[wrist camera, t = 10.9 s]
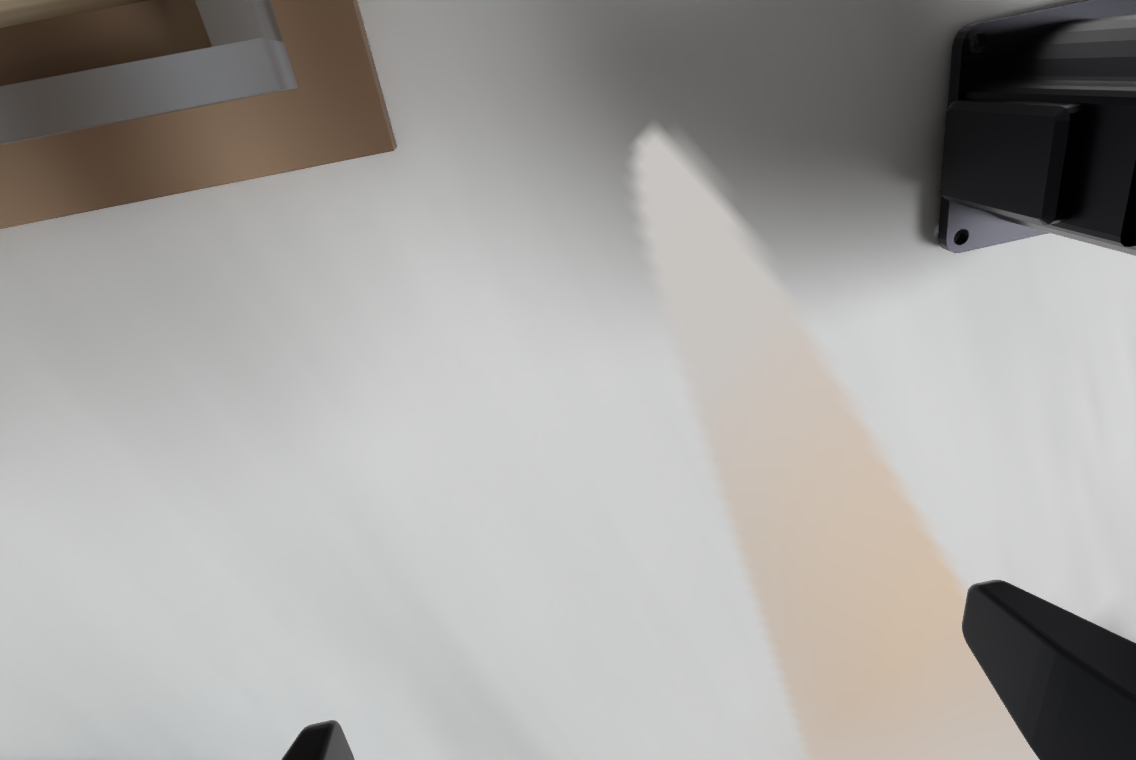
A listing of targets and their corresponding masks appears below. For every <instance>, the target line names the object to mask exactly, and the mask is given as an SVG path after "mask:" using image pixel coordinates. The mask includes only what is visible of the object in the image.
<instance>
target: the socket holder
mask: <svg viewBox="0 0 1136 760" xmlns="http://www.w3.org/2000/svg"><path fill="white" fill-rule="evenodd" d="M396 147H397V145H396V141H395V138H394V134H393V130H392V127H391V123H390V119H389V116H388V112H387V108H386V105H385V101H384V97H383V94H382V90H381V86H380V83H379V79H378V75H377V72H376V68H375V64H374V61H373V57H372V53H371V50H370V46H369V42H368V39H367V35H366V31H365V28H364V24H363V20H362V17H361V13H360V9H359V6H358V2H357V0H148V1H142V2H137V3H132V4H126V5H121V6H116V7H110V8H105V9H99V10H94V11H89V12H83V13H78V14H73V15H67V16H62V17H56V18H51V19H46V20H40V21H35V22H30V23H24V24H19V25H13V26H8V27H3V28H0V229H2V228H7V227H12V226H17V225H22V224H27V223H32V222H37V221H42V220H47V219H53V218H58V217H63V216H68V215H73V214H78V213H83V212H88V211H93V210H98V209H103V208H108V207H113V206H118V205H123V204H128V203H133V202H138V201H143V200H148V199H153V198H158V197H163V196H168V195H173V194H178V193H183V192H188V191H193V190H198V189H203V188H208V187H213V186H218V185H223V184H228V183H234V182H239V181H244V180H249V179H254V178H259V177H264V176H269V175H274V174H279V173H284V172H289V171H294V170H299V169H304V168H309V167H314V166H319V165H324V164H329V163H334V162H339V161H344V160H349V159H354V158H359V157H364V156H369V155H374V154H379V153H384V152H389V151H394V150H395V149H396Z"/></svg>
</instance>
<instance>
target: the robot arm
mask: <svg viewBox="0 0 1136 760" xmlns="http://www.w3.org/2000/svg"><path fill="white" fill-rule="evenodd" d="M975 35H976V36H977V41H978V42H977V46H976V48H975V49H974V50H973V51H972V50H971V46H970V44H971V40H972V38H973V37H974V36H975ZM940 192H941V206H940V219H939V233H938V241H939V244H940V246H941V247H942V248H944V249H946V250H948V251H951V252H954V253H961V252H965V251H970V250H974V249H979V248H983V247H988V246H992V245H997V244H1001V243H1006V242H1011V241H1015V240H1020V239H1024V238H1029V237H1033V236H1038V235H1042V234H1047V233H1053V234H1056V235H1060V236H1064V237H1068V238H1071V239H1075V240H1079V241H1083V242H1086V243H1090V244H1094V245H1097V246H1101V247H1105V248H1109V249H1112V250H1116V251H1120V252H1124V253H1127V254H1131V255H1135V256H1136V0H1088V1H1083V2H1078V3H1072V4H1067V5H1062V6H1057V7H1052V8H1047V9H1042V10H1037V11H1032V12H1027V13H1022V14H1017V15H1012V16H1007V17H1002V18H997V19H992V20H986V21H981V22H976V23H971V24H969V25H966V26H964V27H963V28H962V29H961V30H960V31H959V32H958V33H957V35H956V37H955V39H954V42H953V46H952V59H951V72H950V86H949V99H948V110H947V112H946V123H945V136H944V150H943V163H942V177H941V190H940ZM959 230H960V232H961V233H960V236H959V238H958V239H957V240H956V241H954V236H955V234H956V233H957V232H958V231H959ZM962 630H963V635H964V638H965V640H966V642H967V644H968V646H969V648H970V649H971V651H972V653H973V654H974V656H975V658H976V659H977V661H978V662H979V664H980V666H981V667H982V669H983V670H984V672H985V674H986V676H987V677H988V679H989V681H990V682H991V684H992V685H993V687H994V688H995V690H996V692H997V694H998V695H999V697H1000V699H1001V700H1002V702H1003V703H1004V705H1005V707H1006V708H1007V710H1008V712H1009V713H1010V715H1011V716H1012V718H1013V720H1014V722H1015V723H1016V725H1017V726H1018V728H1019V730H1020V731H1021V733H1022V734H1023V736H1024V737H1025V739H1026V740H1027V742H1028V744H1029V745H1030V747H1031V748H1032V749H1033V751H1034V752H1035V754H1036V755H1037V756H1038V758H1039V759H1040V760H1136V643H1134V642H1132V641H1130V640H1128V639H1125V638H1123V637H1121V636H1119V635H1117V634H1115V633H1113V632H1111V631H1109V630H1107V629H1104V628H1102V627H1100V626H1098V625H1096V624H1094V623H1092V622H1090V621H1088V620H1085V619H1083V618H1081V617H1079V616H1077V615H1075V614H1073V613H1071V612H1069V611H1067V610H1064V609H1062V608H1060V607H1058V606H1056V605H1054V604H1052V603H1050V602H1048V601H1045V600H1043V599H1041V598H1039V597H1037V596H1035V595H1033V594H1031V593H1029V592H1026V591H1024V590H1022V589H1020V588H1018V587H1016V586H1014V585H1012V584H1010V583H1007V582H1005V581H1002V580H991V581H986V582H982V583H977V584H974V585H972V586H971V587H970V588H969V590H968V593H967V599H966V604H965V610H964V616H963V621H962ZM282 760H354V757H353V754H352V752H351V749H350V747H349V745H348V742H347V740H346V737H345V735H344V733H343V730H342V728H341V726H340V724H339V723H338V722H337V721H335V720H330V721H326V722H321V723H316V724H312V725H309V726H307V727H305V728H304V729H303V730H302V731H301V732H300V734H299V735H298V737H297V738H296V740H295V741H294V742H293V744H292V745H291V747H290V748H289V750H288V751H287V753H286V754H285V755H284V757H283V758H282Z"/></svg>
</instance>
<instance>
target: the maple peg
mask: <svg viewBox="0 0 1136 760" xmlns="http://www.w3.org/2000/svg"><path fill="white" fill-rule="evenodd" d="M142 1H148V0H0V28H3V27H8V26H13V25H19V24H24V23H30V22H35V21H40V20H46V19H51V18H56V17H62V16H67V15H73V14H78V13H83V12H89V11H94V10H99V9H105V8H110V7H116V6H121V5H126V4H132V3H137V2H142Z"/></svg>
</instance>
